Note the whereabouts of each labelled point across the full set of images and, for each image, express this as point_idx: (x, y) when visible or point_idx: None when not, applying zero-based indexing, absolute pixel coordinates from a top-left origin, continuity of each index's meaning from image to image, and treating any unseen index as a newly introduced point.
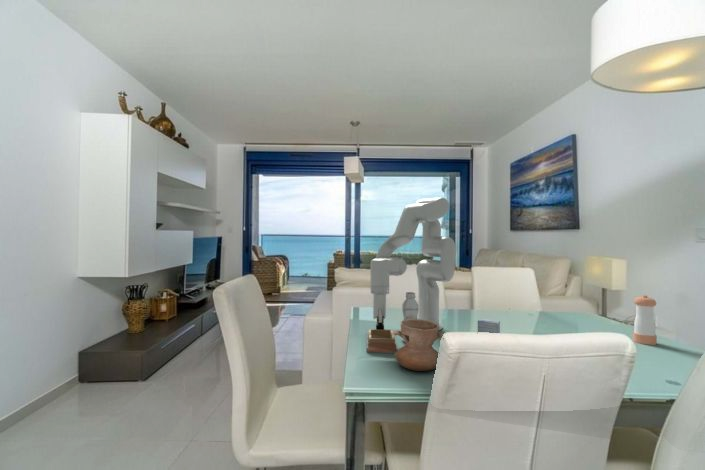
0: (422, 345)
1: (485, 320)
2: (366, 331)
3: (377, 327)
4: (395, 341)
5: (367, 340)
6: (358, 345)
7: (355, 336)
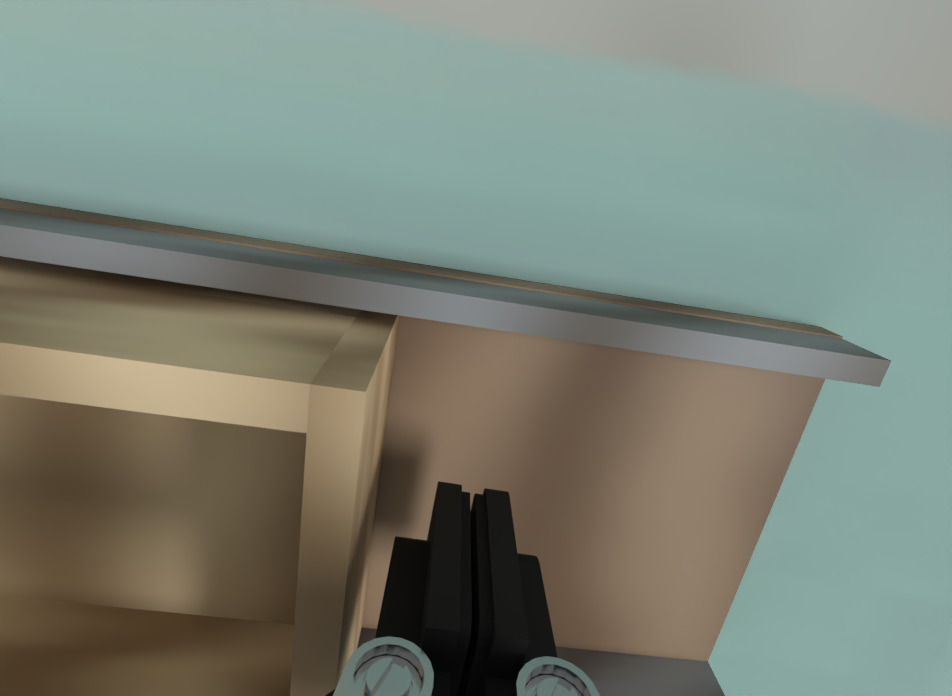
0: None
1: None
2: (770, 346)
3: (424, 610)
4: None
5: (154, 269)
6: (266, 98)
7: (806, 123)
